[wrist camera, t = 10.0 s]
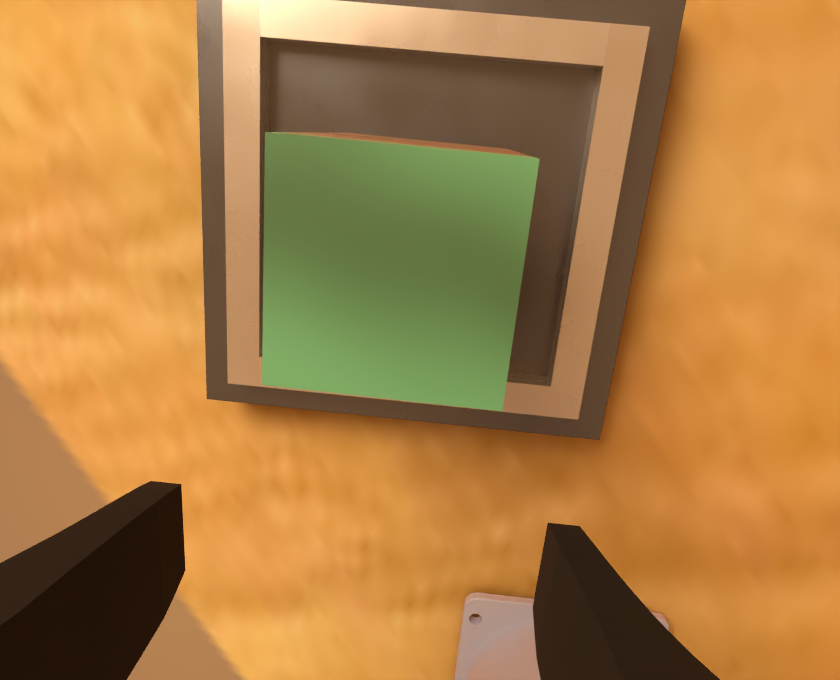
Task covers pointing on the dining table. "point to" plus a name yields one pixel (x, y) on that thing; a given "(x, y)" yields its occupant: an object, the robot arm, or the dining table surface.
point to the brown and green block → (393, 266)
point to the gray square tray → (454, 123)
